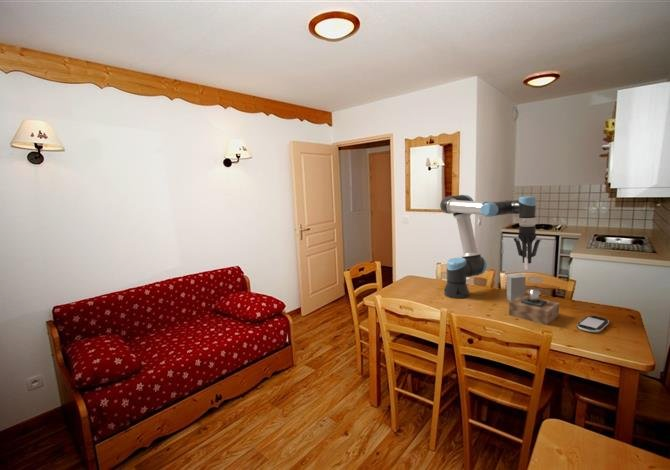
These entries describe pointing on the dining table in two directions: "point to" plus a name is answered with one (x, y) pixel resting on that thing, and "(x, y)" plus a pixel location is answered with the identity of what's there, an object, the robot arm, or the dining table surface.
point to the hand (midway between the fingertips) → (526, 268)
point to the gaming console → (592, 324)
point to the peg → (534, 295)
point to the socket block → (534, 310)
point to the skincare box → (515, 286)
